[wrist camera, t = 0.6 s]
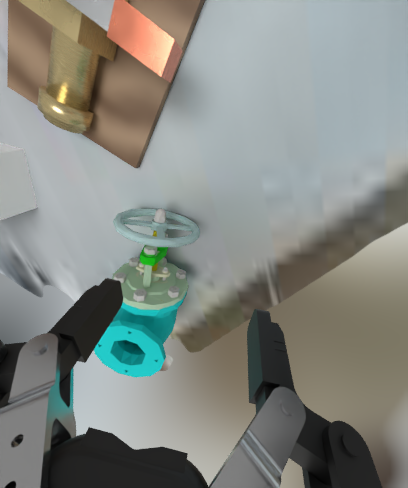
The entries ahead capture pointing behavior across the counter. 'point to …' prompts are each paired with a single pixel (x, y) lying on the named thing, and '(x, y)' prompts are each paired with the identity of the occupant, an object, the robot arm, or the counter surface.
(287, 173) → the counter surface
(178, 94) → the counter surface
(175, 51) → the valve lever
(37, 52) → the mounting board
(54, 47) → the brass valve
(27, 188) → the milk
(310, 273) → the counter surface
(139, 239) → the valve
